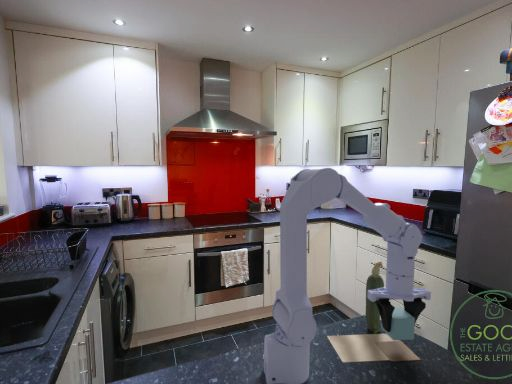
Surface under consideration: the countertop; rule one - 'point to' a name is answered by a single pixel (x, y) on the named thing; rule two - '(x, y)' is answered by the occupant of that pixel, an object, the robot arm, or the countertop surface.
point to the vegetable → (371, 308)
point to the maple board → (370, 348)
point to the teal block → (401, 325)
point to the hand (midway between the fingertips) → (397, 329)
